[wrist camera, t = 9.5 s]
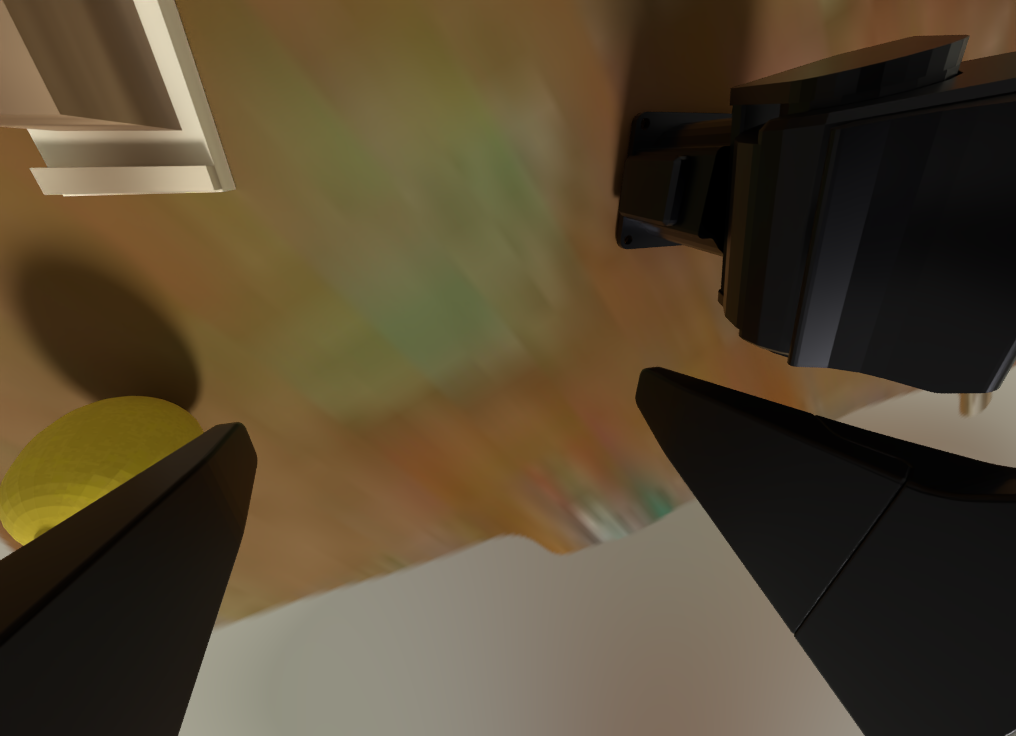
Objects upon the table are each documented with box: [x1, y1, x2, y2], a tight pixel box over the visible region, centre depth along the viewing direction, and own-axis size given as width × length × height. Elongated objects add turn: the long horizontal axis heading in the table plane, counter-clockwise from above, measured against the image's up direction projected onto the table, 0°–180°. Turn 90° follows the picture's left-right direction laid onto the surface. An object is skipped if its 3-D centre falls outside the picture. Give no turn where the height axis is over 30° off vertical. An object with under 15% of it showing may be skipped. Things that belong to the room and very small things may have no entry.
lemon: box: [0, 396, 204, 545], centre depth 16 cm, size 6×6×8 cm
